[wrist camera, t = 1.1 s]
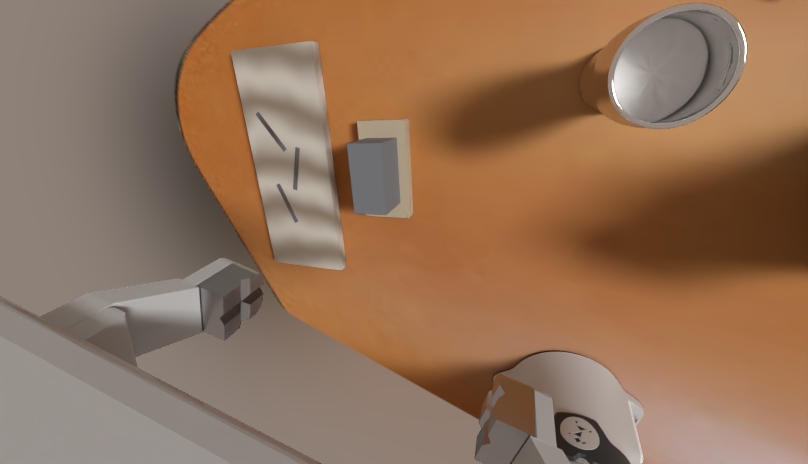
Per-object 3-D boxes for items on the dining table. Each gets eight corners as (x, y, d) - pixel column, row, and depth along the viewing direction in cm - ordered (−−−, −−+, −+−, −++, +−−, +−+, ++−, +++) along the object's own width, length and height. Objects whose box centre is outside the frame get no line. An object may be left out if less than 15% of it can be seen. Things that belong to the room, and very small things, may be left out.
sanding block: (413, 213, 45) (395, 232, 39) (372, 210, 47) (348, 228, 41) (409, 118, 40) (388, 122, 34) (364, 119, 42) (336, 124, 36)
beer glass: (562, 107, 35) (584, 117, 22) (592, 31, 32) (639, -13, 18) (634, 124, 33) (704, 146, 20) (673, 45, 30) (786, 10, 17)
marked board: (346, 265, 51) (341, 270, 50) (281, 257, 55) (274, 262, 54) (318, 42, 40) (310, 41, 39) (239, 52, 44) (229, 50, 43)
